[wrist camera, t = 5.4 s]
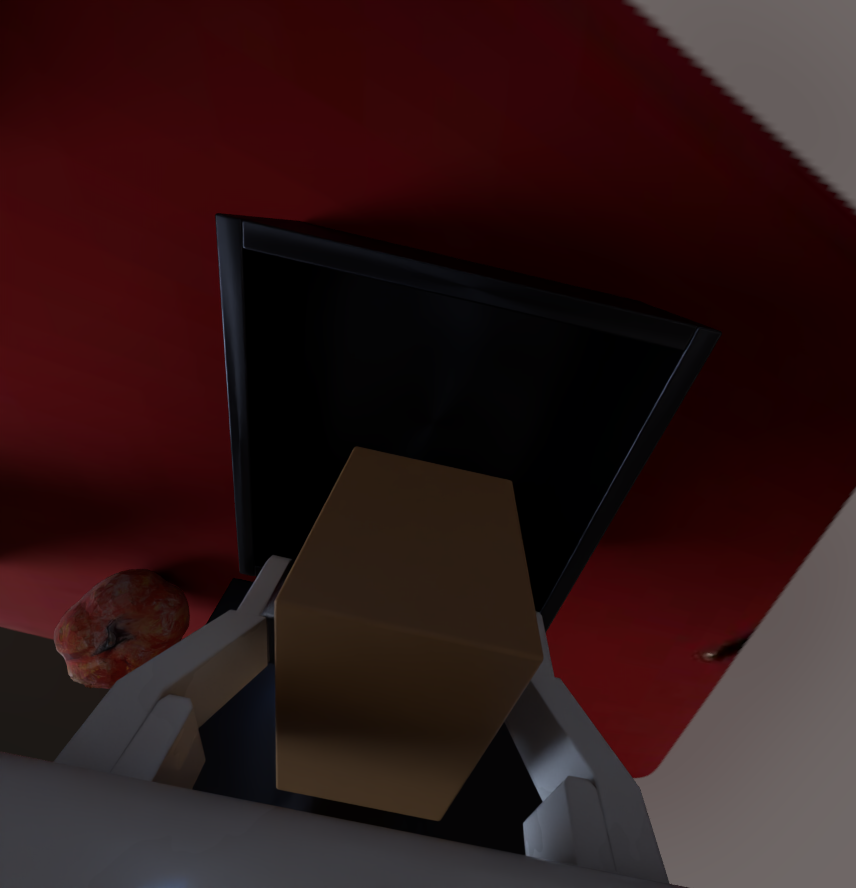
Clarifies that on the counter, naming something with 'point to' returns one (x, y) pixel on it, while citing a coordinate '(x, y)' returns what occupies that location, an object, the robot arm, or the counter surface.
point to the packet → (401, 635)
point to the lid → (254, 779)
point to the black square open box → (437, 384)
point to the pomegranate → (121, 626)
